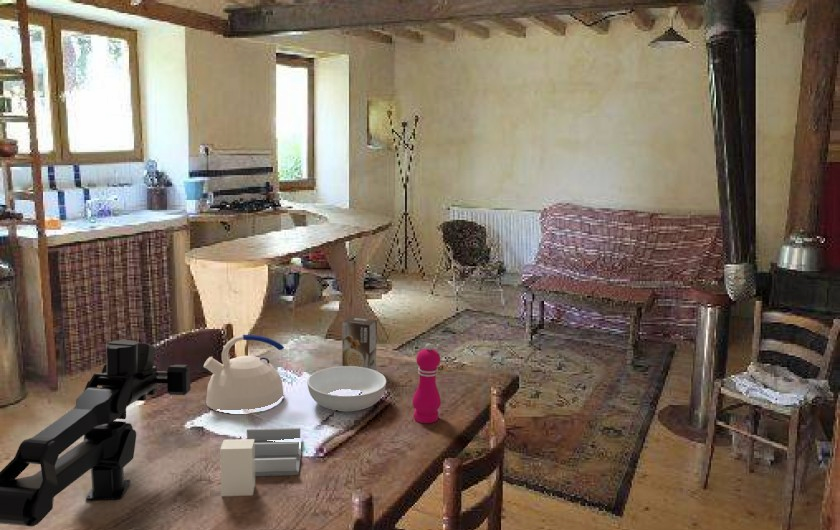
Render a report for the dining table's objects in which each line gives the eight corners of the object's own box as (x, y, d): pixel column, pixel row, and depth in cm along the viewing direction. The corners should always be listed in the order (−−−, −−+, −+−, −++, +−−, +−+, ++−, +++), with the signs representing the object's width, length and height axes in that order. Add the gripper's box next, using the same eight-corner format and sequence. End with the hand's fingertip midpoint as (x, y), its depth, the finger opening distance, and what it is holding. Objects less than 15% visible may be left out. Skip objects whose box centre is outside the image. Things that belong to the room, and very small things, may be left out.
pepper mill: (406, 420, 165) (409, 344, 161) (420, 410, 171) (422, 337, 167) (432, 426, 162) (435, 350, 158) (444, 416, 168) (448, 342, 164)
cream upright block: (252, 495, 128) (251, 448, 127) (221, 496, 128) (220, 449, 126) (255, 484, 132) (254, 439, 130) (224, 485, 132) (223, 439, 130)
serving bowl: (294, 414, 166) (294, 389, 165) (325, 385, 186) (325, 362, 185) (371, 425, 161) (372, 399, 160) (395, 394, 181) (395, 371, 180)
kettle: (202, 389, 180) (201, 326, 176) (278, 382, 187) (278, 321, 184) (206, 419, 161) (204, 350, 158) (290, 410, 169) (290, 343, 165)
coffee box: (377, 370, 199) (378, 319, 196) (369, 377, 193) (370, 325, 190) (349, 366, 202) (350, 316, 199) (341, 372, 196) (341, 321, 193)
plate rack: (298, 474, 137) (298, 459, 136) (234, 476, 135) (234, 461, 134) (302, 441, 152) (302, 427, 151) (245, 442, 150) (245, 428, 149)
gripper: (172, 351, 132) (202, 335, 148) (84, 348, 134) (123, 333, 149) (174, 404, 134) (203, 383, 149) (86, 401, 135) (124, 380, 150)
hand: (163, 368), depth 149 cm, fingers open, 9 cm apart
